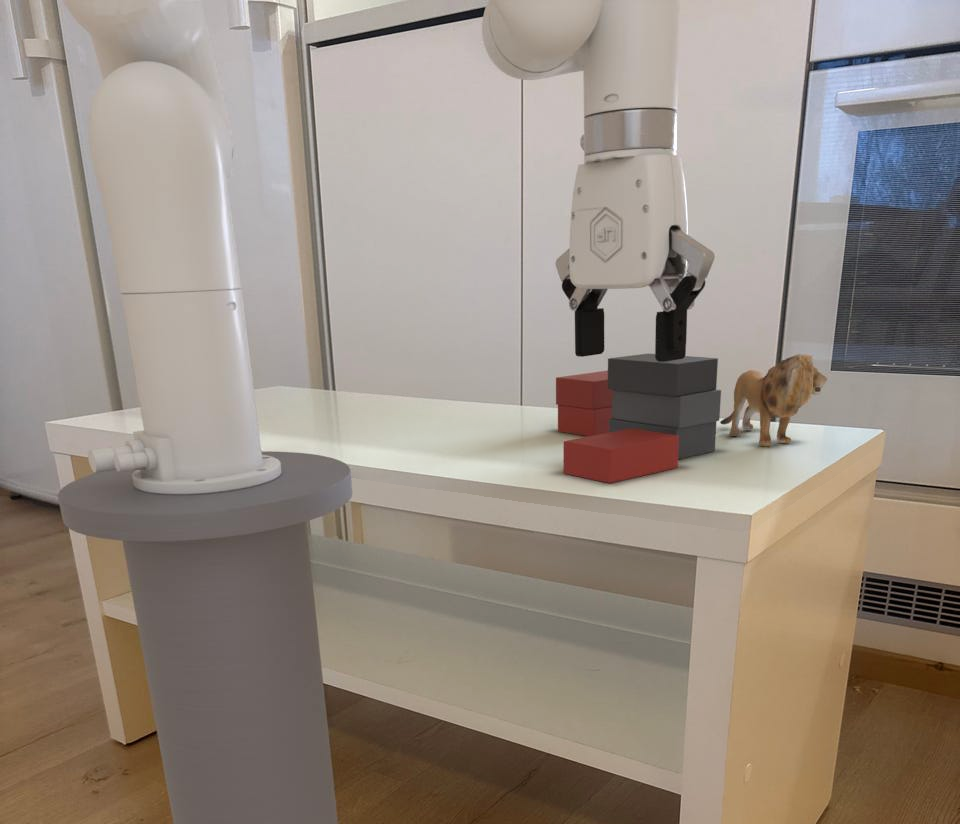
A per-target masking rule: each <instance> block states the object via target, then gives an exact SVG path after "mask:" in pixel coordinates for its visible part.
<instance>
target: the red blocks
mask: <svg viewBox="0 0 960 824" xmlns="http://www.w3.org/2000/svg"><path fill="white" fill-rule="evenodd" d="M555 405H557V432H560V433H567V434H571V435H572V434H573V435H578V436H584V437H588V436H594V435H599V434H604V433H609V419H612V390H611V389H608V370H601V371H594V372H586V373H580V374H572V375H564V376H558V377H555Z"/></svg>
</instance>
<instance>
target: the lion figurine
mask: <svg viewBox="0 0 960 824" xmlns="http://www.w3.org/2000/svg"><path fill="white" fill-rule="evenodd" d="M827 381H828V377H826V376H825V375H823V374H822V373H821V372H820V371H819V370H818V368H817V367H815V366H814V362H813V356H812V355H808V354H805V353H804V354H802V353H797V354H795V355H793V356H789V357H788V358H785V359H782V360H781V361H780V362H779V363H777V364H776V365H774V366H772V367H769V369H768V371H767V373H766V374H765V376H764V374H763V373H762V372H761V371H758V370H753V369H748V370H747V371H745V372H743V373H742V374H740V375H739V376H738V377H737V380H736V383H735V385H734V389H733V411H732V413H731V414H730V415H728V416H727V417H725V418H723V419H722V420H721V421H720V422H719V424H721V425H728V424H731V427H730V430H729V436H731V437H735V436H736V437H737V436H740V435H741V430H740V428H739V424H740V420H741V419H740V418H741V417H740V416H741V412H742V411H743V409H744V406H745V403H746V401H747V404H748V405H747V407H746V408H745V410H744V413H743V418H742V423H741V427H742V429H743V430H745V431H751V430H754V424H752V423H751V419H752V417H753V416H754V414H755V413H757V414H759V427H760V429H759V441H758V445H759V446H760V447H771V446H772V437H771V434H770V429H771V421H772V418H776V419H779V420H778V421H779V422H778V426H777V432H776V441H777V442H778V443H780V444H789V443H791V442H792V438H791V437H790V436H787V435H786V433H787V429H788V427H789V424H790V420H791V417H793V416H795V415H797V414H798V411H799V409H800V408H801V407H802V406H804V405H806V404H807V403H809V401H810V400H811V398H812V395H813V396H817V397H818V396H819V395H820V394H821V389H822V388H824V387H825V385H826V382H827Z"/></svg>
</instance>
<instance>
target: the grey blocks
mask: <svg viewBox="0 0 960 824" xmlns="http://www.w3.org/2000/svg"><path fill="white" fill-rule="evenodd" d="M718 364H719V358H717V357H705V356H703V357H702V356H690V355H685V357H684V358H683V359H679V360H672V361H666V362H658V361H657V360H656V359H655V353H642V354H634V355H625V356H618V357H617V356H616V357H609V358H607V371H608V389H611V390H612V419H609V433H610V432H615V431H620V430H626V429H631V428H632V429H639V430H645V431H652V432H659V433H665V434H672V435H678V436H679V448H678V460H681V459H687V458H690V457H695V456H699V455H705V454H709V453H714V452H715V451H716V438H717V437H716V436H717V422H719V421H720V417H721V401H722V400H721V399H722V390H721V389H717V383H718V382H717V381H718V367H719V366H718Z"/></svg>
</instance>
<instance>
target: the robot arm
mask: <svg viewBox="0 0 960 824" xmlns="http://www.w3.org/2000/svg"><path fill="white" fill-rule="evenodd" d="M62 2H63V3H64V5H65V7H66V8H67V9H68V11H69V13H70V14H71V16H72V17H73V19H75V21H76V22H77V23H78V24H79V25H80V26H81V27H82V28H83V29H84V30H85V31H86V32H87V33H88V34H89V36H90V38H91V41H92V44H93V48H94V51H95V56H96V58H97V62H98V67H99V69H100V73H101V77H102V80H103V81H102V82H101V84H100V85H99V87H98V88H97V90H96V91H95V94H94V96H93V98H92V102H91V105H90V109H89V115H88V142H89V149H90V150H89V151H90V154H91V160H92V161H91V162H92V166H93V170H94V172H95V177H96V181H97V185H98V189H99V194H100V198H101V202H102V206H103V209H104V212H105V217H106V218H105V219H106V221H107V227H108V230H109V236H110V240H111V246H112V251H113V256H114V257H113V258H114V262H115V268H116V274H117V279H118V286H119V292H120V294H121V299H122V306H123V312H124V318H125V323H126V324H125V325H126V329H127V335H128V340H129V341H128V343H129V347H130V353H131V359H132V365H133V372H134V377H135V379H134V380H135V384H136V390H137V397H138V402H139V408H140V415H141V421H142V426H143V430H136V431H133V432H132V434H133V435H132V436H133V440H126V441H125V442H124V445H122V446H115V447H114V446H113V447H112V446H107V447H101V448H92V449H88V451H87V459H88V465H89V468H90V469H91V471H92V472H93V474H94V473H99V472H105V471H112V470H117V471H118V472H121V471H128V470H133V471H134V472H133V474H132V478H133V484H134V487H136V488H137V489H138V490H141V491H143V492H148V493H153V494H164V495H195V494H209V493H219V492H227V491H234V490H239V489H245V488H250V487H254V486H258V485H261V484H264V483H268V482H270V481H272V480H274V479H276V478H278V477H279V476H280V474H281V473H282V472H281V462H280V461H279V460H278V459H276V458H274V457H271V456H267V455H262V452H261V451H262V445H261V437H260V428H259V419H258V411H257V404H256V402H257V401H256V393H255V388H254V377H253V370H252V362H251V361H252V360H251V353H250V345H249V336H248V330H247V329H248V327H247V322H246V311H245V304H244V303H245V301H244V294H243V288H242V282H241V273H240V266H239V257H238V249H237V242H236V234H235V228H234V220H233V213H232V208H231V201H230V193H229V187H228V184H229V182H230V180H231V178H232V175H233V172H234V168H235V162H236V161H235V160H236V148H235V147H236V146H235V140H234V139H235V138H234V133H233V130H232V125H231V121H230V117H229V112H228V108H227V104H226V99H225V96H224V92H223V87H222V83H221V78H220V74H219V70H218V65H217V61H216V56H215V52H214V48H213V44H212V39H211V35H210V30H209V25H208V22H207V17H206V14H205V9H204V5H203V1H202V0H62ZM680 6H681V0H487V2H486V5H485V8H484V12H483V17H482V23H481V35H482V41H483V45H484V49H485V51H486V54H487V55H488V57H489V59H490V61H491V62H492V63H493V64H494V66H495V67H496V68H497V69H499V70H500V72H502V73H504V74H505V75H506V76H509V77H511V78H514V79H518V80H523V81H537V80H543V79H549V78H552V77H557V76H562V75H568V74H573V73H577V72H578V73H579V72H583V73H582V74H583V134H582V135H581V137H580V141H579V143H580V144H579V145H580V147H581V149H582V150H583V156H584V157H583V158H584V160H583V163H582V164H578V166H577V170H576V174H575V180H574V186H573V192H572V200H571V202H572V203H571V211H570V227H569V248H568V249H566V250H565V252H563V253H562V254H561V255H560V256H559V257H557V259H556V260H555V268H556V270H557V271H556V272H557V273H558V276H559V279H560V282H562V283H561V290H562V291H563V293H564V294H565V296H566V298H567V299H568V306H569V309H570V310H571V311H573V312H574V348H575V349H574V350H575V351H574V353H575V356H576V357H579V358H581V357H590V356H597V355H602V354H603V353H604V351H605V311H604V310H605V308H604V307H603V308H602V307H601V308H599V306H600V304H601V303H602V301H603V299H604V298H605V295H606V294H607V292H608V290H616V289H617V290H622V289H623V290H624V289H642V288H646V287H649V288H650V290H651V291H652V294H653V295H654V297H655V298H656V300H657V302H658V303H659V305H660V307H661V309H662V311H656V315H655V336H654V337H655V340H654V342H655V344H654V347H655V349H654V354H655V359H656V360H657V361H658V362H666V361H672V360H679V359H683V358H684V357H685V356H687V353H686V351H687V349H686V348H687V335H688V334H687V333H688V332H687V329H688V310H692V309H693V308H694V306H695V301H696V299H697V298H698V296H699V295H700V293H702V291H703V290H704V288H705V287H706V279H707V278H708V276H709V273H710V270H711V269H712V267H713V264H714V261H715V253H714V251H713V250H711V249H710V248H708V247H707V246H705V245H704V244H702V243H701V242H699V241H697V240H696V239H695V238H693V237H691V236H690V235H689V232H688V231H689V227H688V203H687V193H686V183H685V175H684V174H685V173H684V168H683V162H682V157H681V155H680V154H677V133H678V132H677V131H678V99H679V98H678V96H679V95H678V93H679V56H680V55H679V54H680V52H679V51H680V15H681V14H680V9H681V7H680ZM687 264H688V265H687ZM687 266H688V267H687ZM135 470H136V471H135Z"/></svg>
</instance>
